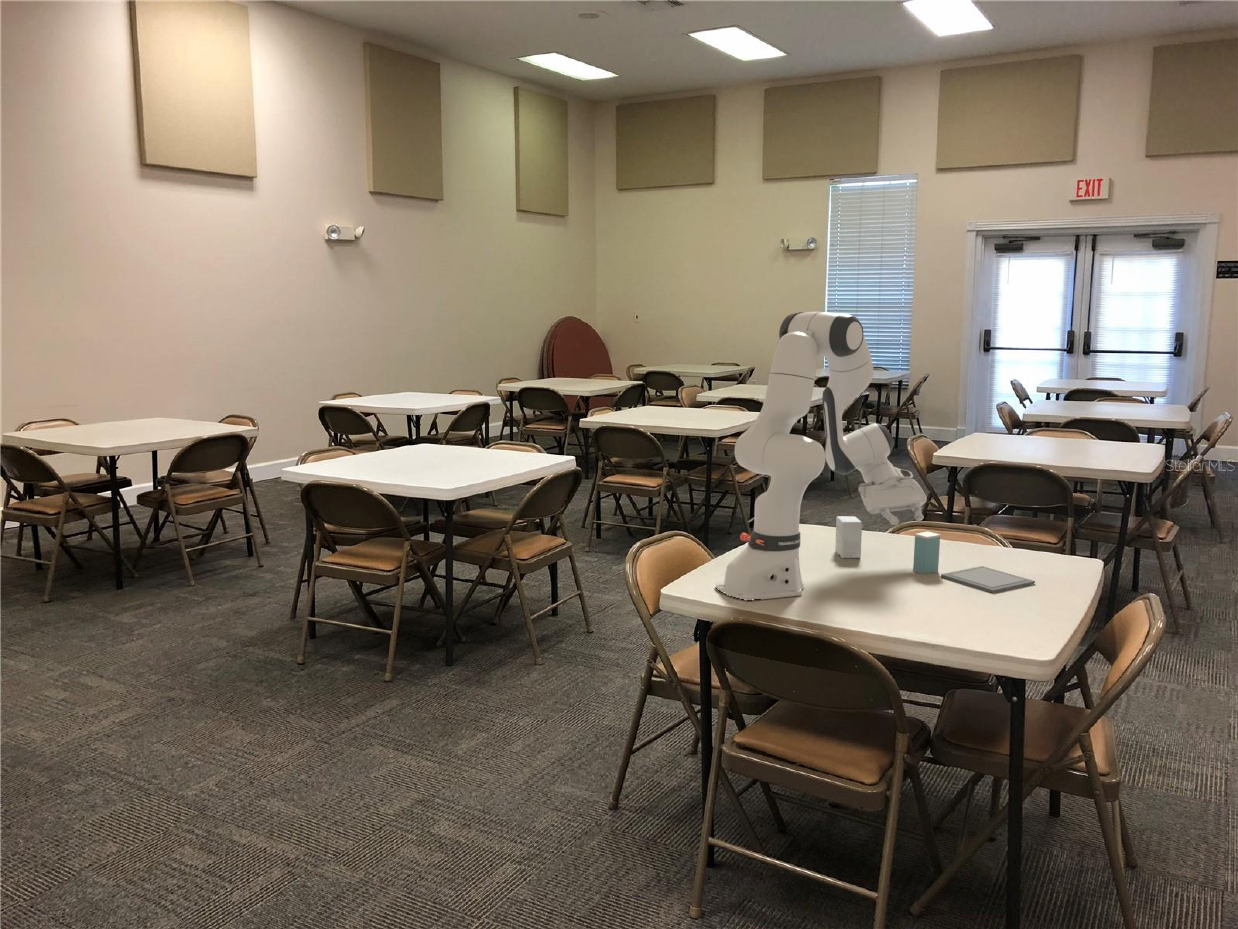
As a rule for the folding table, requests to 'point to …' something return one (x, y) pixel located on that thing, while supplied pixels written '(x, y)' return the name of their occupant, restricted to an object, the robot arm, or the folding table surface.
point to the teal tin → (926, 552)
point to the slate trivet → (987, 579)
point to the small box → (848, 536)
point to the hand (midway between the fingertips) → (908, 521)
